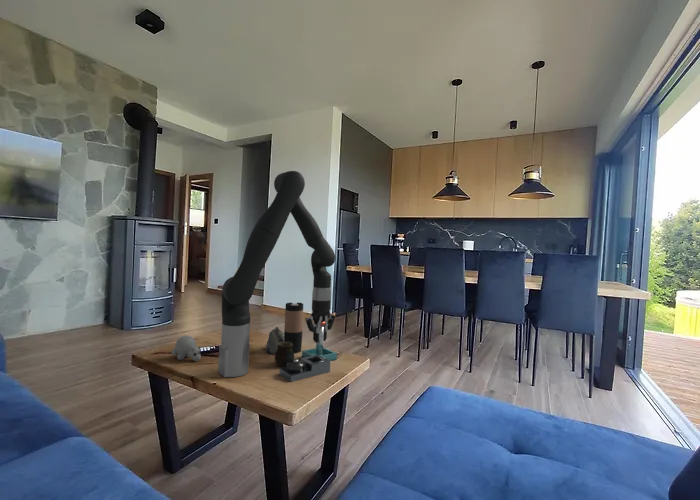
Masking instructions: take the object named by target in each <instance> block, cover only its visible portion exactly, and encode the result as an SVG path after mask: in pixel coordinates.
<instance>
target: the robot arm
mask: <svg viewBox="0 0 700 500" xmlns="http://www.w3.org/2000/svg"><path fill="white" fill-rule="evenodd" d="M305 181H306V180H305V177H304V176H303V174H302V173H300V172H299V171H296V170H288V171H284V172H281V173H279V174H278V175H276V177H275V178H274V181H273V186H274V187H273V188H274V189H275V192H276V194H275V197H274V199H273V201H272V202H271V204H270V205H269V206H268V207H267V209H266V210H265V211H264V212H263V214H261V216H260V217H259V218H258V220H257V221H256V223H255V224H254V227H253V229H252V230H251V233H250V235H249V237H248V239H247V242H246V247H245V249H244V253H243V257H242V261H241V263H240V264H239V266H238V268H237V270H236V272H235V273H234V275H233V276H231V277H229V278H227V279H226V280H225V281H224V283H223V285H222V287H221V340H220V341H221V344H219V347H218V367H217V368H218V371H217V372H218V373H219V375H221V376H222V377H223V378H237V377H242V376H245V375H246V374H248V373H249V366H250V365H249V364H250V363H249V362H250V358H249V357H250V337H251V336H250V334H251V333H250V332H251V331H250V330H251V313H250V300H251V298H252V296H253V294H254V292H255V288H256V286H257V283H258V281H259V277H260V275H261V273H262V271H263V269H264V266H265V265H266V264H267V261H268V260H269V258H270V256H271V253H272V251H273V250H274V248H275V247H276V244H277V242H278V240H279V238H280V235H281V233H282V231H283V229H284V227H285V225H286V223H287V221H288V219H289V216H290V214H291V216H292V217H293V219H294V221H295V222H296V225H297V226H298V229H299V231H300V232H301V235H302V236H303V239H304V241H305V243H306V245H307V246H308V247H310V248H312V250H313V251H312V253H311V256H310V264H311V269H312V275H313V284H312V285H313V286H312V293H311V294H312V295H311V311H312V312H311V314H310V316H309V317H305V319H304V320H305V323H306V325H307V328H308V331H309V332H311V333H312V334H313V335H312V340H313V342H314V343H315V344H316V343H317V342H318V341H319V333H318V332H319V328H320V326H321V325H320V322H324V321H325V322H326V325H324V342H326V340H327V336H328V335H327V334H328V331H329V330H332V327H333V325H334V322H335V320H336V315H334V314H331V305H332V275H331V273H329V271H327V270H328V269H327V267H331V266H333V265H334V264H335V261H336V255H335V251H334V249H333V248H332V247H331V244H330V243H329V242H328V241H327V239H326V238H325V237H324V235H323V233H322V230H321V229H320V226H319V224H318V222H317V221H316V219H315V217H314V216H313V215H312V214H311V213H310V211H309V210H308V208H306V206H305V205H304V203H303V201H302V200H301V196H302V194H303V193H304V189H305ZM315 323H316V324H317V325H316V324H315Z"/></svg>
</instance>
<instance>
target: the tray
mask: <svg viewBox="0 0 700 500" xmlns="http://www.w3.org/2000/svg"><path fill="white" fill-rule="evenodd" d="M314 355H316V347H315V348H310V349H305V350H301V358H304V357H309V356H314ZM320 356H322V357H324V358H326V359H328V360H330V362H331V361H336V360H337V359H338V353H337V352H335V351H333V350H331V349H329V348H327V347H324V346H323V355H320Z"/></svg>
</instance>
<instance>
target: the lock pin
mask: <svg viewBox="0 0 700 500" xmlns="http://www.w3.org/2000/svg"><path fill="white" fill-rule="evenodd" d="M315 324H316V323H315ZM316 325H317V324H316ZM320 325H321V326H320V328H319V332H318V333H319V341H318V342H317V343H316V342H315V348H316V355H323V347H324V346H325V345H324V342H325V341H324V325H326V322H325V321H324V322H320Z"/></svg>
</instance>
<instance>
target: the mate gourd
mask: <svg viewBox="0 0 700 500" xmlns="http://www.w3.org/2000/svg"><path fill="white" fill-rule="evenodd" d="M292 347H293V344H292V343H291V341H290V342H280V343H278V349H277V351H276V353H274V361H275V363H276V365H277V366H278V367H280V368H284V367H287V362H288V361H291V360H294V359H295V353H294V352H293V349H292Z"/></svg>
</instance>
